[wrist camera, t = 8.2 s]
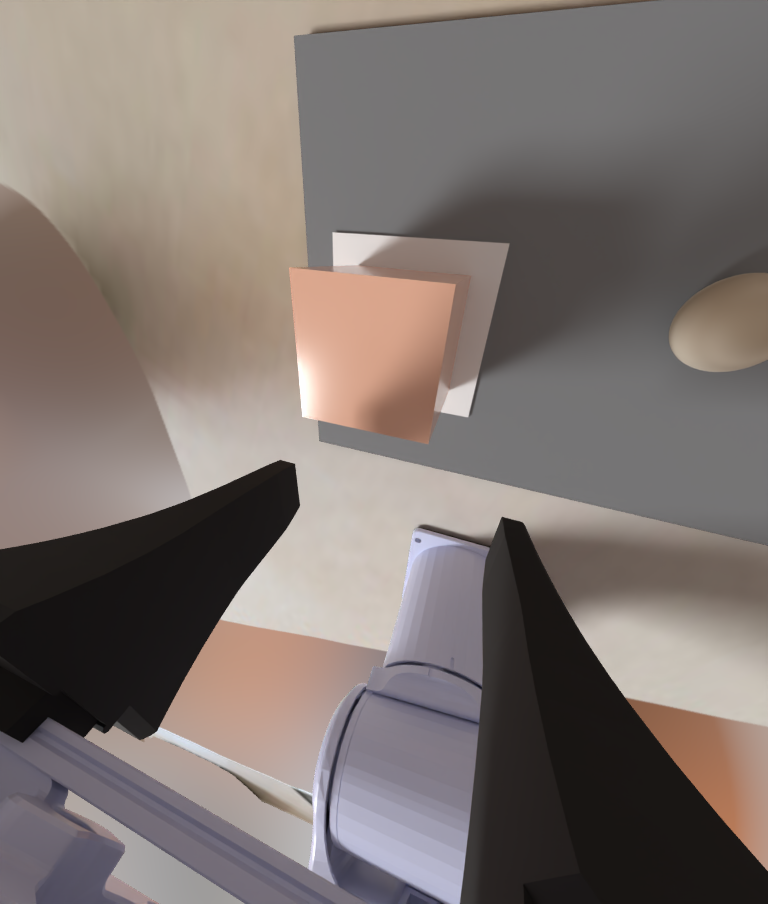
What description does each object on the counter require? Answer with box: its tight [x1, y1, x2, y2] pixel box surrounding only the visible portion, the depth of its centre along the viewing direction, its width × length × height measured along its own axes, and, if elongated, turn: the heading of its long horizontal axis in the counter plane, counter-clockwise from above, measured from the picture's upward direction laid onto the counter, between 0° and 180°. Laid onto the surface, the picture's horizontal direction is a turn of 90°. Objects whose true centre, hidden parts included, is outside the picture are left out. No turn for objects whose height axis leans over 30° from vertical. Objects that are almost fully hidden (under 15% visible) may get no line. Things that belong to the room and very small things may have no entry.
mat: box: [294, 0, 768, 546], centre depth 14 cm, size 18×27×1 cm, turn 86°
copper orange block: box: [289, 265, 472, 444], centre depth 13 cm, size 5×5×6 cm
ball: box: [669, 273, 768, 372], centre depth 11 cm, size 3×3×3 cm
